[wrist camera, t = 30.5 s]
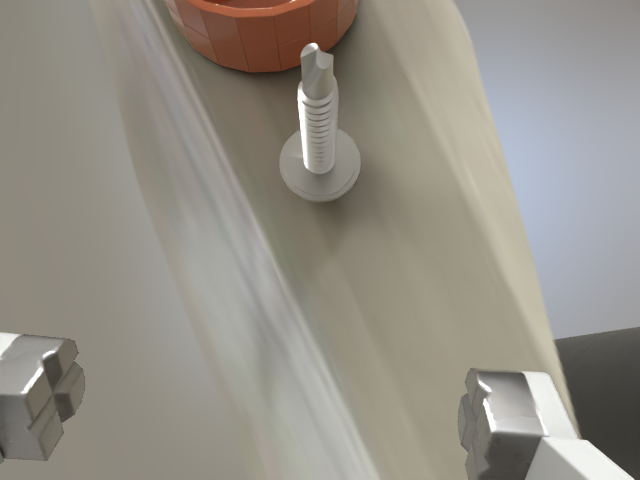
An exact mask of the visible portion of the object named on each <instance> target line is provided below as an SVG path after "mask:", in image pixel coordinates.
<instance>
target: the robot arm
mask: <svg viewBox="0 0 640 480" xmlns="http://www.w3.org/2000/svg"><path fill="white" fill-rule="evenodd" d="M78 353H79V352H78V350H77V346H76V343H75V341H73V340H71V339H66V338H56V337H46V336H36V335H25V334H24V335H20V334H10V333H1V332H0V464H1V463H2V462H4V459H22V460H42V461H47V460H48V459H49V457H50V455H51V453H52V452H53V450H54V448H55V447H56V445H57V443H58V442H59V440H60V438H61V437H62V435H63V433H64V431H63V426H62V422H64V421H66V420H67V419H69V418H70V417H72V416H73V415H75V413H76V411H77V409H78V408H79V406H80V404H81V402H82V398H83V394H84V391H85V376H84V372H83V369H82V368H81V367H80V366H79V365H78V364H77V363H76V362H75V361H74V360H75V358H76V357H77V355H78ZM465 384H466V388H467V392H468V393H467V394H465V395H464V396H463V397H461V400H460V405H459V409H458V431H459V437H460V442H461V445H462V446H463V447H464V448H465V449H466V450H467V452H468V455H467V459H466V463H465V466H466V471H467V476H468V480H634V479H633V478H632V477H631V476H630V475H628V474H627V473H626V472H625V471H623V470H622V469H621V468H620V467H619V466H617V465H616V464H615V463H614V462H613V461H611V460H610V459H609V458H608V457H607V456H605V455H604V454H603V453H602V452H601V451H599V450H598V449H597V448H596V447H594V446H593V445H592V444H591V443H590V442H588V441H587V440H579V438H578V436H577V434H576V431H575V429H574V427H573V425H572V423H571V421H570V418H569V416H568V414H567V412H566V410H565V407H564V405H563V403H562V401H561V399H560V396H559V394H558V392H557V390H556V388H555V386H554V383H553V381H552V379H551V377H550V376H549V375H548V374H547V373H543V372H526V371H521V372H519V371H507V370H492V369H476V368H470V370H469V372H468V373H467V377H466V381H465Z"/></svg>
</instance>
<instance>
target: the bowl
mask: <svg viewBox="0 0 640 480" xmlns="http://www.w3.org/2000/svg"><path fill="white" fill-rule="evenodd" d="M359 2H360V0H165V3H166V5H167V7H168V10H169V12H170V14H171V17H172V19H173V21H174V24H175V26H176V28H177V30H178V31H179V32H180V33H181V34H182V36H183V37H184V38H185V39H186V40H187V42H188V43H189V44H190V45H191V46H192V48H193V49H195V50H196V51H197V52H199V53H200V54H202V55H204V56H205V57H207V58H209V59H210V60H212V61H214V62H215V63H217V64H219V65H221V66H225V67H229V68H233V69H237V70H241V71H245V72H274V71H281V70H282V71H284V70H287V69H290V68H293V67H296V66H299V65H301V52H302V50H303V48H304V47H305V46H306V45H308V44H311V43H315V44H317V45H318V47H319V49H320V50H321V51H322V52H326V51H327V50H329V49H330V48H331V47H333V46H334V45H336V44H337V42H338V41H339V40H340V38H341V37H342V36H343V34H344V33H345V32H346V31H347V29H348V28H349V27H350V25H351V24H352V23H353V20H354V18H355V15H356V11H357V8H358V5H359Z"/></svg>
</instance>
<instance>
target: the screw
mask: <svg viewBox="0 0 640 480" xmlns="http://www.w3.org/2000/svg"><path fill="white" fill-rule="evenodd" d="M301 69H302V80H301V82H300V83H299V86H298V96H297V97H298V107H299V114H300V115H299V118H300V126H301V130H299V131H297V132H296V133H294V134H293V135H292V136H291V137H290V138H289V139H288V140H287V141H286V143H285V145H284V146H283V148H282V151H281V154H280V160H279V166H280V173H281V176H282V179H283V181H284V183H285V184H286V186H287V187H288V188H289V189H290V190H291V191H292V192H293V193H294V194H295V195H297V196H298V197H300V198H302V199H305V200H307V201H311V202H329V201H332V200H336V199H338V198H340V197H342V196H343V195H345V194H346V193H347V192H348V191H349V190H351V188H352V187H353V186H354V184H355V183H356V181H357V179H358V176H359V172H360V167H361V157H360V154H359V150H358V148H357V146H356V144H355V142H354V141H353V140H352V139H351V138H350V136H349V135H347V134H346V133H344V132H343V131H342V130H339V129H337V124H338V123H337V122H338V102H339V98H338V95H339V92H338V87H337V81H336V78H335V77H334V75H333V55H331V54H328V53H325V52H322V51H321V50H320V49H319V47H318V45H317V44H315V43H311V44H308V45H306V46H305V47H304V48H303V50H302V52H301Z"/></svg>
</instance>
